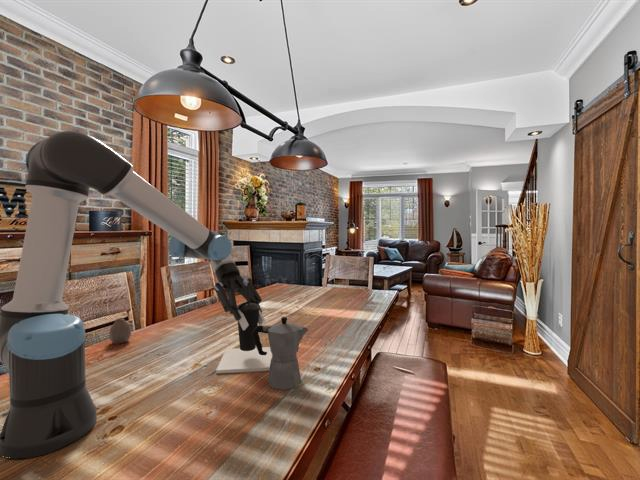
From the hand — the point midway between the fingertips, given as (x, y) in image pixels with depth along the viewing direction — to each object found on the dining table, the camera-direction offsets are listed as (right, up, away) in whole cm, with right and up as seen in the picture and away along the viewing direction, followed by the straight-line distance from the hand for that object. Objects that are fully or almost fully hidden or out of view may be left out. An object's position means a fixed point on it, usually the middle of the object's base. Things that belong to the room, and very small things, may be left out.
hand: (254, 325), depth 96 cm
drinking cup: (-3, -8, +3) cm, 9 cm away
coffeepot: (+10, -13, -11) cm, 19 cm away
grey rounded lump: (-54, -12, +19) cm, 58 cm away
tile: (-3, -12, +3) cm, 13 cm away
